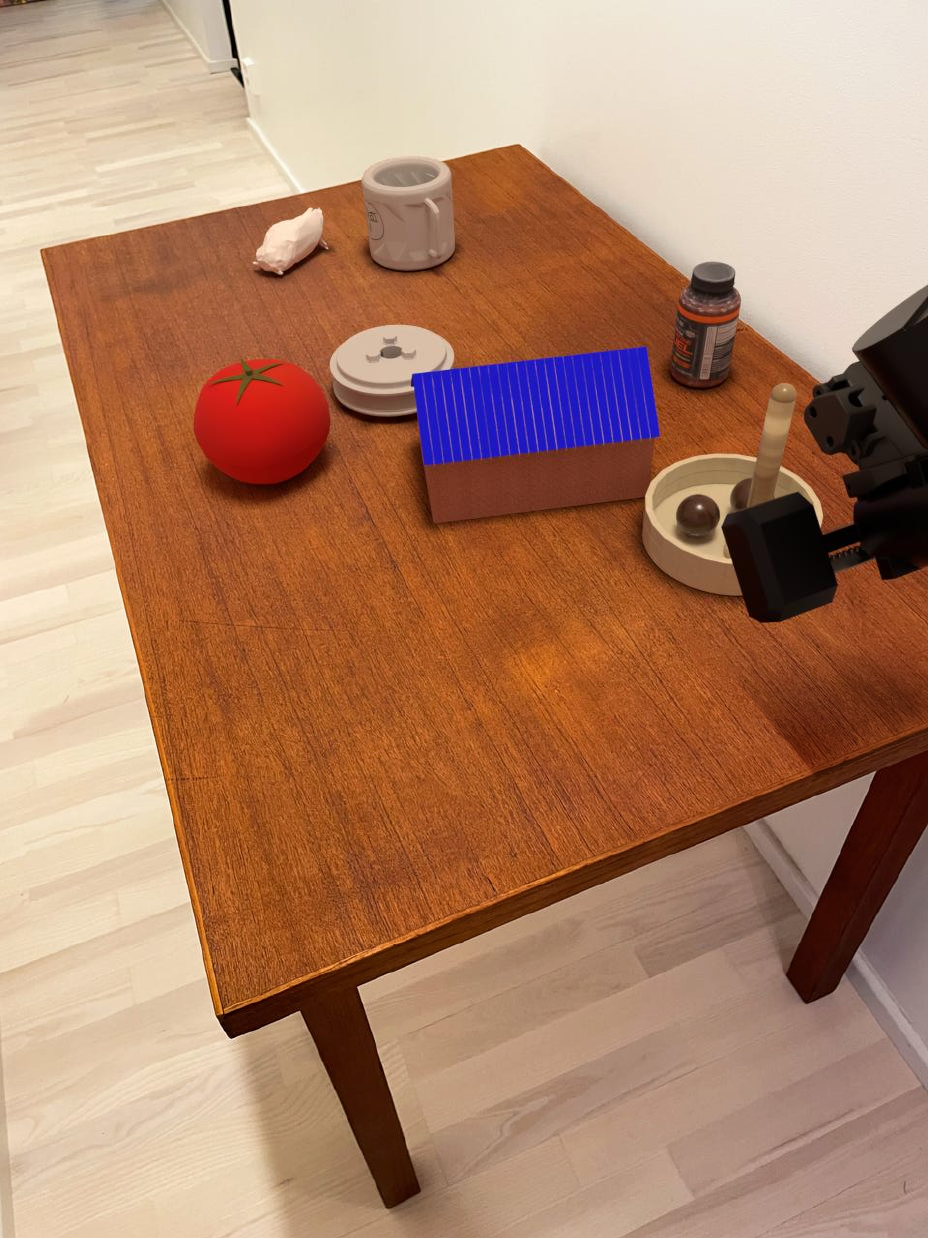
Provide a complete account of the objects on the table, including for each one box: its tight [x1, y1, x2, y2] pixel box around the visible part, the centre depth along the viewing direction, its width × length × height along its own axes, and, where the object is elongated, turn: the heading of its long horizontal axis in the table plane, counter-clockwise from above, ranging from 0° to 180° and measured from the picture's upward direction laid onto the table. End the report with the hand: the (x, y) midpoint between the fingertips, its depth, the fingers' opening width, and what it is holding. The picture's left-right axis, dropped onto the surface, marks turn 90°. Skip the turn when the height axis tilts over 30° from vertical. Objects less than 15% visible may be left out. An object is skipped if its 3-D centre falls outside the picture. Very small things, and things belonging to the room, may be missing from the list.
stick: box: [724, 382, 798, 559], centre depth 73 cm, size 4×4×16 cm
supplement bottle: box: [669, 261, 742, 389], centre depth 95 cm, size 6×6×11 cm
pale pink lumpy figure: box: [252, 207, 329, 276], centre depth 119 cm, size 5×7×10 cm
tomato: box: [193, 357, 331, 485], centre depth 88 cm, size 11×12×10 cm
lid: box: [329, 324, 455, 417], centre depth 98 cm, size 13×13×5 cm
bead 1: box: [676, 494, 720, 538], centre depth 80 cm, size 4×4×4 cm
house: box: [411, 346, 661, 524], centre depth 85 cm, size 12×20×12 cm, turn 98°
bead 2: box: [730, 478, 774, 512], centre depth 81 cm, size 4×4×4 cm
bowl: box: [641, 452, 824, 597], centre depth 80 cm, size 14×14×4 cm
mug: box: [361, 155, 456, 272], centre depth 117 cm, size 14×11×10 cm
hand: (799, 536), depth 61 cm, fingers open, 9 cm apart
